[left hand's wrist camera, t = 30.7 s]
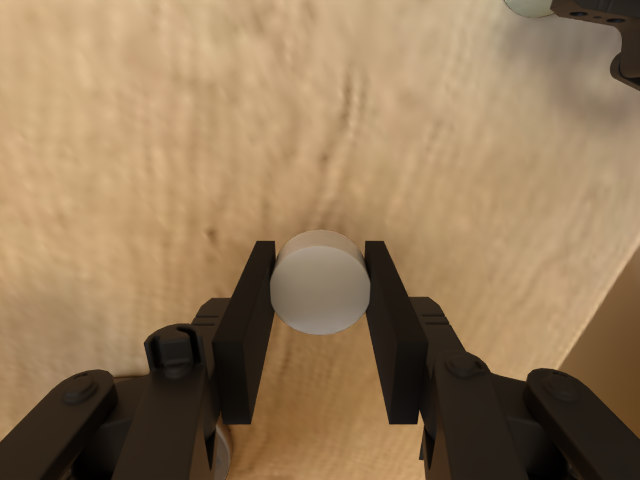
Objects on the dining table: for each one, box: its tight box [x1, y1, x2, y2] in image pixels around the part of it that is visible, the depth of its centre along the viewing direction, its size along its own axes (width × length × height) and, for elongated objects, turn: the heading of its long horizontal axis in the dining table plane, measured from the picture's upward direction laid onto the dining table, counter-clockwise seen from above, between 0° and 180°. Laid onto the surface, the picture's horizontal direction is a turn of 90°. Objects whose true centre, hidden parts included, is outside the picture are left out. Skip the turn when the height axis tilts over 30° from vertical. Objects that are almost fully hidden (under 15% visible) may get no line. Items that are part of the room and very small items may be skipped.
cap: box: [270, 229, 370, 335], centre depth 14 cm, size 4×4×2 cm
